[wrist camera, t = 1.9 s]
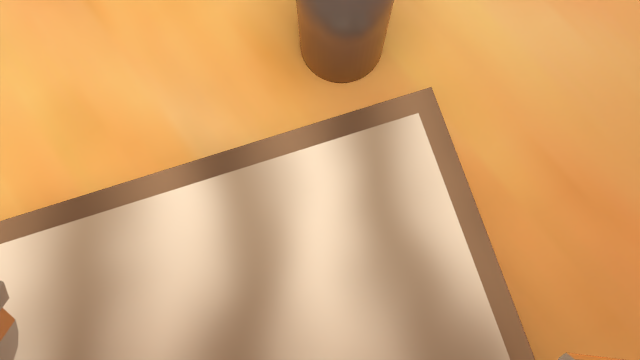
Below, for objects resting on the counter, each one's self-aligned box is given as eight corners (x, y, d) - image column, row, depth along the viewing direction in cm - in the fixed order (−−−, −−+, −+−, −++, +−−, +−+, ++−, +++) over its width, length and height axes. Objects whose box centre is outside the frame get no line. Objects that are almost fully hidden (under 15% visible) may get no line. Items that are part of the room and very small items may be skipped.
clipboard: (428, 93, 27) (435, 78, 25) (554, 427, 24) (573, 437, 22) (-50, 242, 26) (-77, 237, 24) (23, 613, 23) (-2, 639, 21)
